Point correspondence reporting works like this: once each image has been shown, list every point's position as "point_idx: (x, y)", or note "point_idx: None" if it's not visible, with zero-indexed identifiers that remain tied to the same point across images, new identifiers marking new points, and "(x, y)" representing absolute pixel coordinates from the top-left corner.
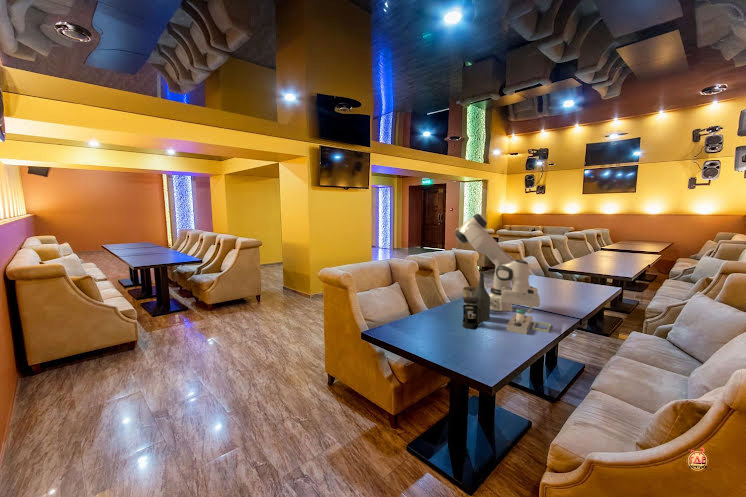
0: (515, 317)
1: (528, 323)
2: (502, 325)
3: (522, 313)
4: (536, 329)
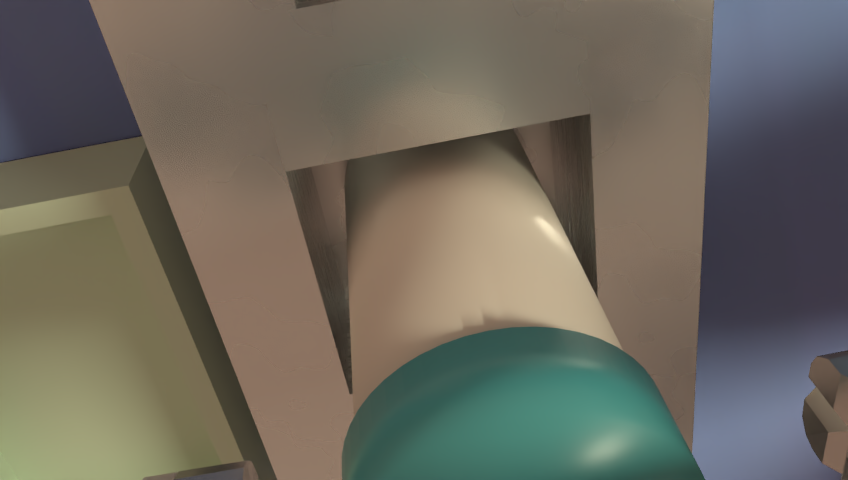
0: None
1: (178, 183)
2: (801, 117)
3: (391, 373)
4: (35, 190)
